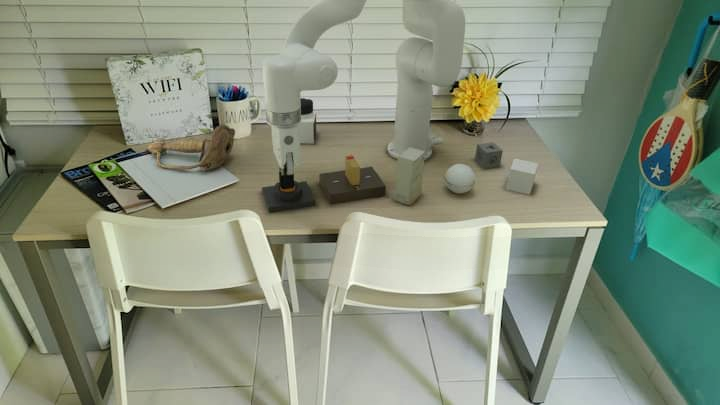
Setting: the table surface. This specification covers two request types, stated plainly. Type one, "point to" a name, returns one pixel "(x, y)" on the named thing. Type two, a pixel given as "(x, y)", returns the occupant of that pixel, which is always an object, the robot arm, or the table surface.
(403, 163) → the cosmetic box
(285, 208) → the black knob base
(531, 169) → the light grey cube
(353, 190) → the plate
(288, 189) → the bell button
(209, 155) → the sword hilt
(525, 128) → the table surface
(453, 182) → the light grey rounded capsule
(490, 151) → the dice cube
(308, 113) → the medicine bottle
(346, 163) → the lock turn
